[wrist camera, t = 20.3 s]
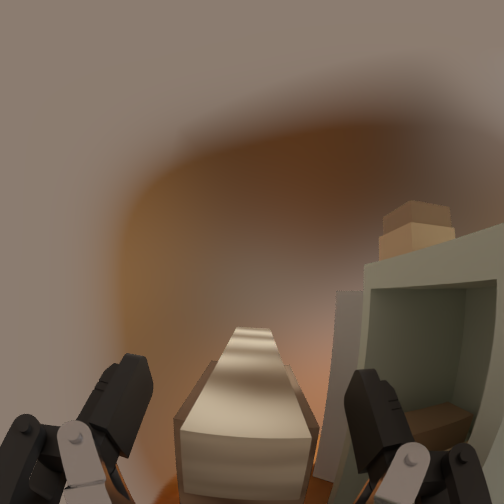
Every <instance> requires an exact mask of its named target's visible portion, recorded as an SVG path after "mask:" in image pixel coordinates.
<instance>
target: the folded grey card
mask: <svg viewBox="0 0 504 504" xmlns="http://www.w3.org/2000/svg"><path fill="white" fill-rule="evenodd" d="M362 310H363V291H336V310H335V325H334V338H333V349H332V359H331V368H330V377H329V385H328V393H327V400H326V407H325V414H324V420H323V426H322V431H321V437H320V442H319V448H318V453H317V458H316V462H315V467H314V472H313V476H314V477H317V478H320V479H323V480H326V481H329V482H333V483H334V480H335V477H336V473H337V469H338V466H339V462H340V458H341V454H342V450H343V445H344V441H345V436H346V432H347V427H348V422H347V418H346V413H345V409H344V396H345V392H346V390H347V388H348V385H349V383H350V381H351V378H352V376H353V373H354V371H355V370H357V365H358V356H359V347H360V337H361V324H362Z"/></svg>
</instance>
